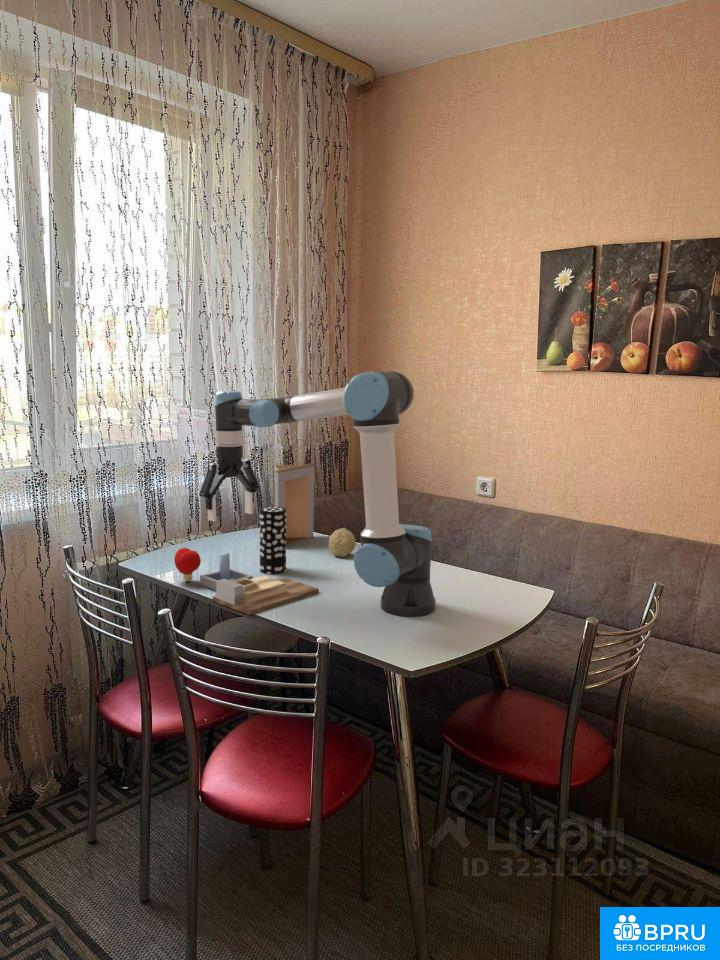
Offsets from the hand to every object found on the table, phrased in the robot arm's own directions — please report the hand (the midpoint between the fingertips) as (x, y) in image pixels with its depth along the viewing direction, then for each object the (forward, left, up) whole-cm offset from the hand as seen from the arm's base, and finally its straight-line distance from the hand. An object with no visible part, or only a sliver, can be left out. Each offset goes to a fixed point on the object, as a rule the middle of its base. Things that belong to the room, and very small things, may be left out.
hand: (230, 517), depth 214 cm
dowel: (+2, +1, -20) cm, 20 cm away
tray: (+1, +1, -21) cm, 21 cm away
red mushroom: (+12, +7, -21) cm, 25 cm away
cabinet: (+28, -47, -21) cm, 59 cm away
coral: (0, -47, -21) cm, 51 cm away
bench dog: (-13, +11, -20) cm, 26 cm away
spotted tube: (+3, -19, -21) cm, 29 cm away
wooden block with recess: (-13, +2, -20) cm, 24 cm away
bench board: (-15, -1, -21) cm, 26 cm away
